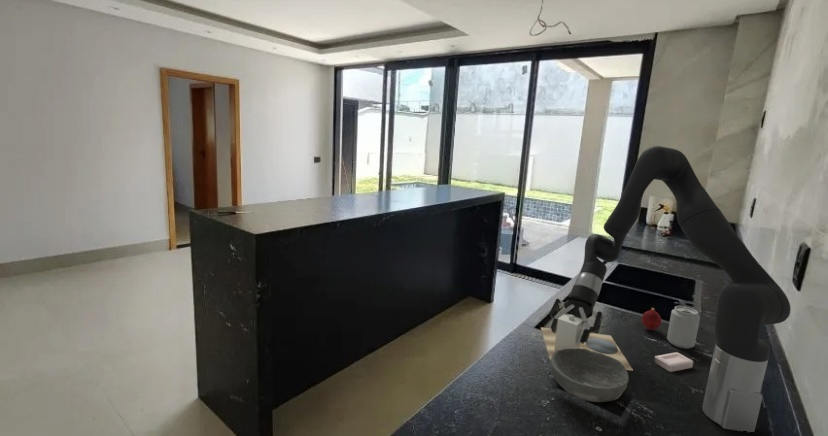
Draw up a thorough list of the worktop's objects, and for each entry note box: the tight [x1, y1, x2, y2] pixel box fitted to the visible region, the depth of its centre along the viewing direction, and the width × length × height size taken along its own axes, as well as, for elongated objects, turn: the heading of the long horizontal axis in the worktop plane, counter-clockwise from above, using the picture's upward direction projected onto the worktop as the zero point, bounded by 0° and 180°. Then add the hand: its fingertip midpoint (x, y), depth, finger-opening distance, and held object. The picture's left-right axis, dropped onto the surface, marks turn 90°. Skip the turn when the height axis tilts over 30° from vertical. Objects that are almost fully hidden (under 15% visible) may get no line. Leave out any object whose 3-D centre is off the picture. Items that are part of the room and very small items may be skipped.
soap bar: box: [653, 351, 694, 373], centre depth 111 cm, size 5×9×2 cm, turn 108°
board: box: [540, 326, 634, 372], centre depth 117 cm, size 20×22×2 cm
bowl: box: [549, 348, 630, 403], centre depth 96 cm, size 18×18×8 cm
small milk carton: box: [554, 313, 584, 351], centre depth 113 cm, size 6×6×11 cm
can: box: [666, 305, 701, 349], centre depth 122 cm, size 8×8×12 cm
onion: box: [641, 307, 662, 331], centre depth 132 cm, size 6×6×8 cm
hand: (567, 337), depth 113 cm, fingers open, 8 cm apart
